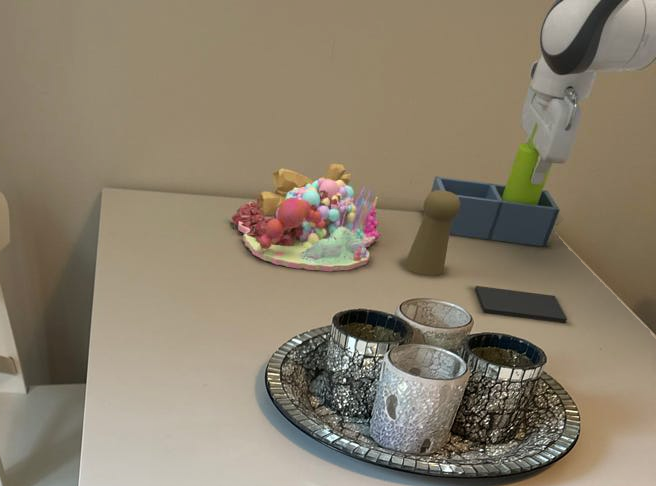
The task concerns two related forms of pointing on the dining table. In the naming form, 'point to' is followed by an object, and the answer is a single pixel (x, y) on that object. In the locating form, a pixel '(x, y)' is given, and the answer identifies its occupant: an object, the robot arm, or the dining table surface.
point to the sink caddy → (498, 213)
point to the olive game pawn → (433, 234)
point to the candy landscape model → (310, 222)
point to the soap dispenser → (524, 175)
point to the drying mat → (520, 304)
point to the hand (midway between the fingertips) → (530, 175)
